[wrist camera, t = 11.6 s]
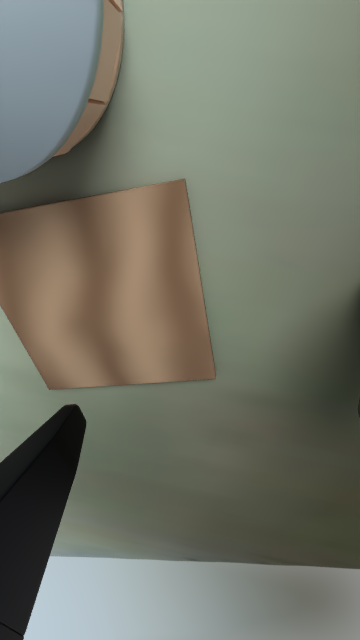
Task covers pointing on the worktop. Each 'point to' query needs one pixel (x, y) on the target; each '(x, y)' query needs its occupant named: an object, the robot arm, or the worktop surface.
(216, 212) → the worktop surface
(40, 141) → the lid
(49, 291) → the board
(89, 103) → the bowl
